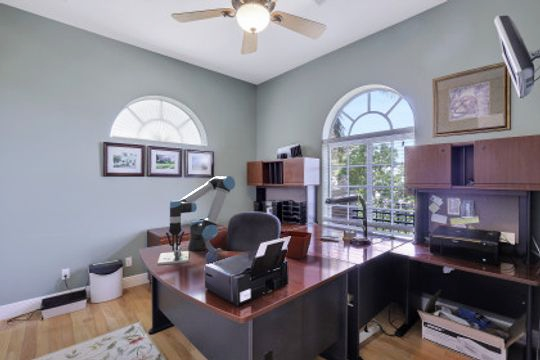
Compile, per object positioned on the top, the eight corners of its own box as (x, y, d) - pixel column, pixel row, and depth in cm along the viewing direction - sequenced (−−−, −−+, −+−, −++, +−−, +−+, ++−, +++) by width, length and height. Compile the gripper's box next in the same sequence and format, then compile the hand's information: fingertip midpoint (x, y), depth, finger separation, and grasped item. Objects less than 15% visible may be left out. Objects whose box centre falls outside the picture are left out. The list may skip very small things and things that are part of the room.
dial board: (188, 252, 199) (188, 250, 199) (188, 262, 178) (188, 259, 178) (160, 255, 193) (160, 252, 193) (157, 264, 172) (157, 262, 172)
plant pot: (289, 250, 206) (289, 230, 205) (311, 254, 197) (312, 232, 197) (279, 257, 189) (279, 235, 188) (304, 261, 180) (304, 238, 180)
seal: (219, 266, 170) (219, 236, 170) (202, 264, 173) (203, 235, 173) (225, 262, 178) (225, 233, 178) (209, 260, 181) (209, 232, 181)
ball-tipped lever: (176, 252, 192) (176, 247, 192) (181, 252, 193) (181, 246, 193) (173, 260, 175) (173, 254, 174) (179, 260, 175) (179, 254, 175)
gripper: (165, 223, 176) (164, 257, 176) (184, 222, 180) (184, 255, 180) (166, 221, 183) (165, 254, 183) (185, 220, 187) (184, 252, 187)
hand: (175, 255), depth 182 cm, fingers closed
